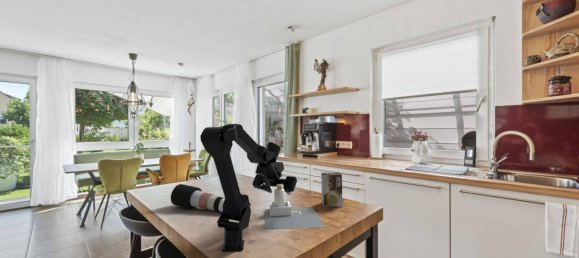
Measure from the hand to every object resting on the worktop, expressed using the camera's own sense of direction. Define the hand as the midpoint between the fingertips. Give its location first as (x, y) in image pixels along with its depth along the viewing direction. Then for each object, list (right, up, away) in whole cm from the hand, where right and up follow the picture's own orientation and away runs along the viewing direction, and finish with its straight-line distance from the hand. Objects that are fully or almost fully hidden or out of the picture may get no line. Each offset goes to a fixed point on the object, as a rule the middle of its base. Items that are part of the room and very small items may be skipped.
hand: (280, 193), depth 111 cm
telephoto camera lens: (-34, -10, +7) cm, 36 cm away
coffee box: (+24, -10, +11) cm, 28 cm away
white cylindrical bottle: (0, -8, -1) cm, 8 cm away
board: (+5, -9, -7) cm, 12 cm away
